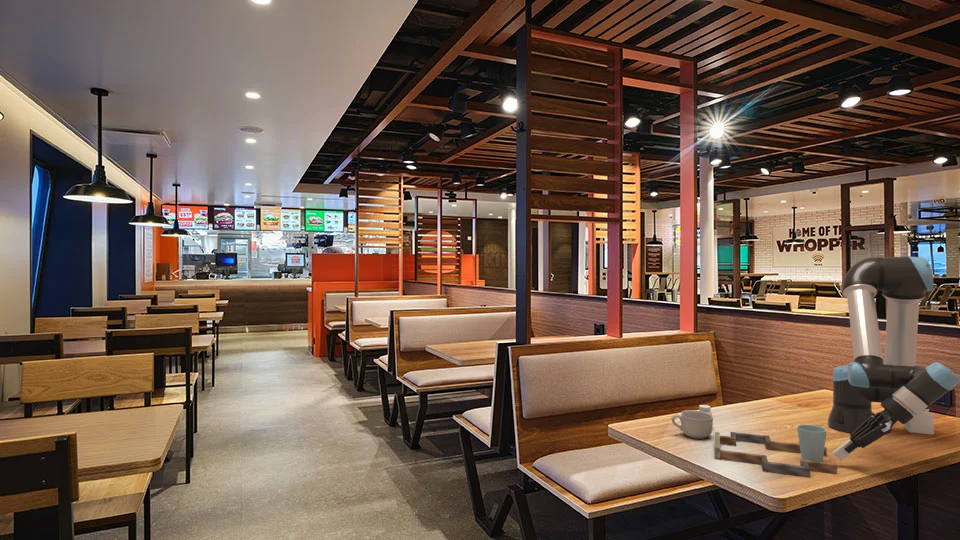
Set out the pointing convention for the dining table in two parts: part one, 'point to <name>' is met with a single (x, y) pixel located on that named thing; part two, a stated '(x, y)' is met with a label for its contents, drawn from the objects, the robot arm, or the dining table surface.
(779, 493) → the dining table surface
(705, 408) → the supplement bottle
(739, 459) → the wooden zigzag frame
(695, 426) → the teacup
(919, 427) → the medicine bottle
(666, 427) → the dining table surface
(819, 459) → the cup
